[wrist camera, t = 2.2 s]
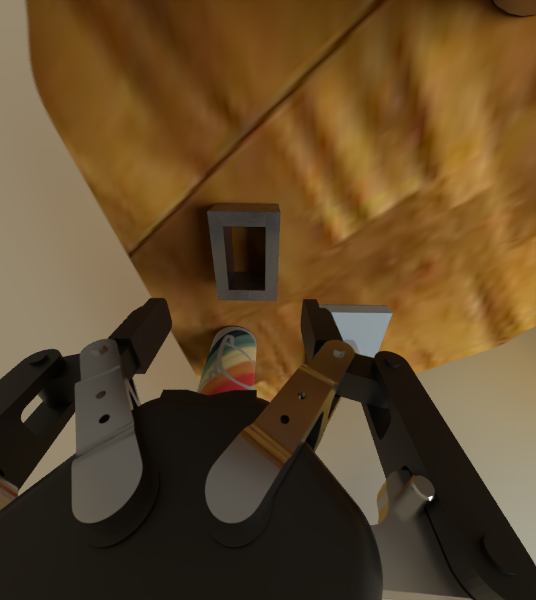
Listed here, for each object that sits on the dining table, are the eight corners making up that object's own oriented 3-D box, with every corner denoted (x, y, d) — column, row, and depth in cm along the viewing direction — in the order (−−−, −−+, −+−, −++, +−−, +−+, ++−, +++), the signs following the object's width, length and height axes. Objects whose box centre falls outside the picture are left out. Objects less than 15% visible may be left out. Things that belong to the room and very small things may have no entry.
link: (217, 202, 20) (207, 211, 17) (278, 203, 20) (280, 212, 17) (225, 280, 25) (218, 300, 21) (275, 281, 25) (276, 300, 21)
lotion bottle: (249, 321, 28) (218, 577, 11) (261, 353, 30) (252, 594, 14) (207, 329, 28) (114, 581, 11) (222, 360, 31) (167, 597, 14)
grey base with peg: (318, 304, 26) (336, 355, 19) (386, 305, 26) (427, 356, 19) (309, 363, 32) (320, 419, 25) (365, 364, 32) (392, 420, 25)
